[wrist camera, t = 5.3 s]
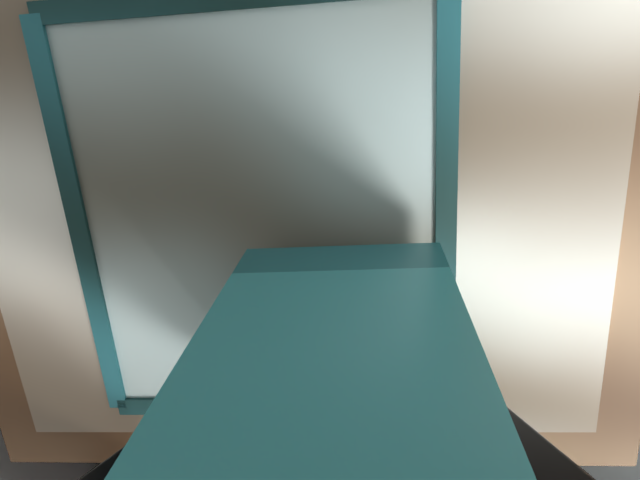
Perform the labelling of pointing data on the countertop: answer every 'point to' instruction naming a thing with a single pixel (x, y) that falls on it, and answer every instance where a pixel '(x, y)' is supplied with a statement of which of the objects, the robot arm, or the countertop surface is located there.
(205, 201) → the colouring board
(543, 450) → the robot arm
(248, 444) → the teal white tall block
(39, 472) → the countertop surface
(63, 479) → the countertop surface
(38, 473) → the countertop surface
